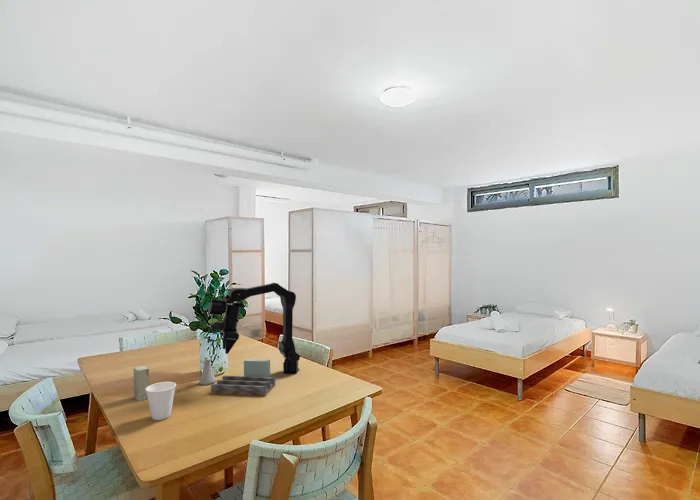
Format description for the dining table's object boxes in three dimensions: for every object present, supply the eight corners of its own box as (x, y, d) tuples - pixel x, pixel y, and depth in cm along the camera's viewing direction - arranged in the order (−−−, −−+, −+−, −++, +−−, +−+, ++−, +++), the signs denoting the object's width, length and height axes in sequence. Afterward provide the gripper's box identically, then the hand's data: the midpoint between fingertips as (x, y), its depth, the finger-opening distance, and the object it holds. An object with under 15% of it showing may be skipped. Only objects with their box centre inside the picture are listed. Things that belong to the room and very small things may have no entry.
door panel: (270, 376, 172) (270, 359, 172) (268, 378, 170) (268, 361, 170) (246, 375, 174) (245, 359, 174) (243, 377, 172) (243, 360, 172)
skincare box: (150, 398, 148) (150, 368, 148) (138, 401, 145) (138, 370, 145) (145, 393, 153) (145, 364, 153) (133, 397, 150) (133, 367, 150)
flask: (210, 385, 161) (209, 363, 161) (195, 384, 163) (195, 362, 163) (219, 380, 168) (218, 358, 168) (204, 379, 170) (204, 357, 170)
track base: (275, 385, 162) (275, 377, 162) (265, 395, 150) (265, 387, 150) (224, 383, 165) (224, 375, 165) (210, 393, 153) (210, 385, 153)
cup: (157, 410, 137) (156, 381, 137) (182, 411, 136) (181, 381, 136) (139, 422, 127) (138, 391, 127) (166, 423, 126) (165, 392, 126)
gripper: (211, 311, 169) (204, 345, 168) (215, 317, 152) (207, 355, 151) (235, 314, 174) (229, 347, 172) (242, 320, 157) (235, 356, 156)
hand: (225, 351), depth 163 cm, fingers open, 9 cm apart
